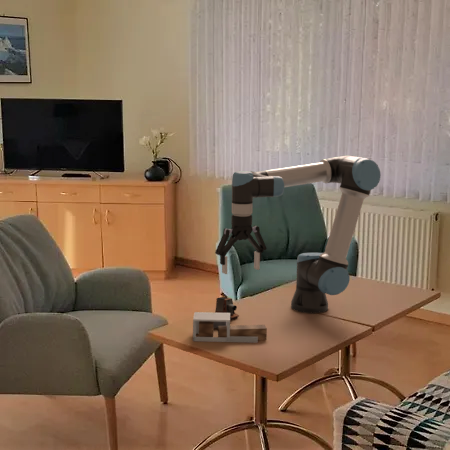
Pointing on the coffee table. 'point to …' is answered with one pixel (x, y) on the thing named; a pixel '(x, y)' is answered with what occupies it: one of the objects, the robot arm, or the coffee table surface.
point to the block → (206, 328)
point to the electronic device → (226, 307)
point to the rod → (244, 331)
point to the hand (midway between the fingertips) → (240, 271)
